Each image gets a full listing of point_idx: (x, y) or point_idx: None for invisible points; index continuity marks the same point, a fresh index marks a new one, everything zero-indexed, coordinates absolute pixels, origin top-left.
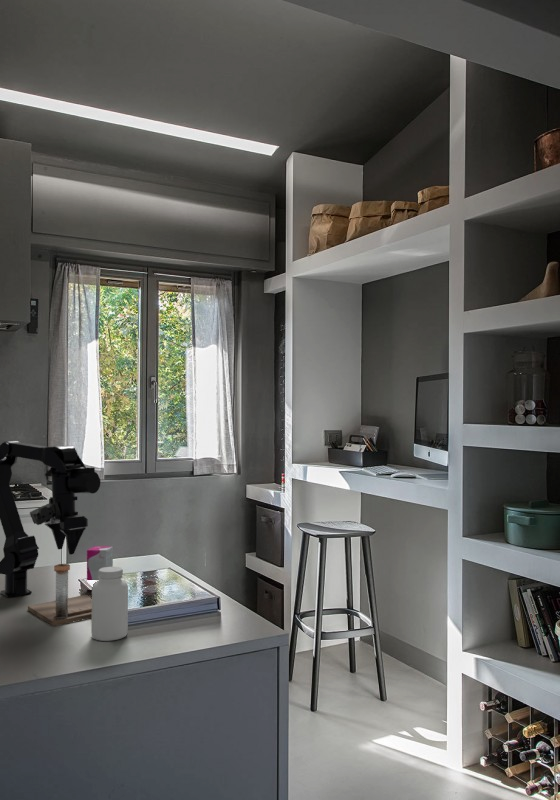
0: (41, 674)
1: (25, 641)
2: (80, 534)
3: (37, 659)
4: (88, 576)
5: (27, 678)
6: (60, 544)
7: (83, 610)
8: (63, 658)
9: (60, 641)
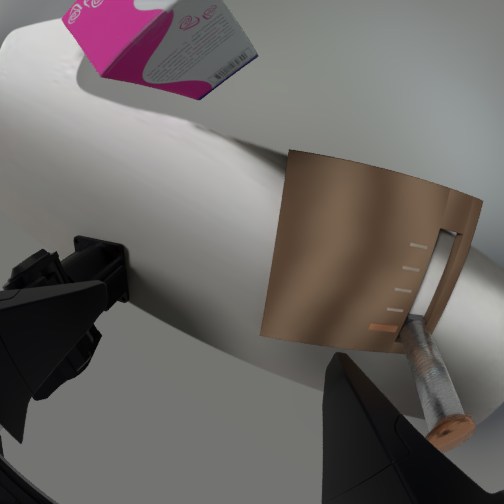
0: (495, 405)
1: None
2: (434, 467)
3: (474, 401)
4: (183, 89)
5: (486, 415)
6: (87, 307)
7: (425, 269)
8: (500, 381)
9: (471, 367)
